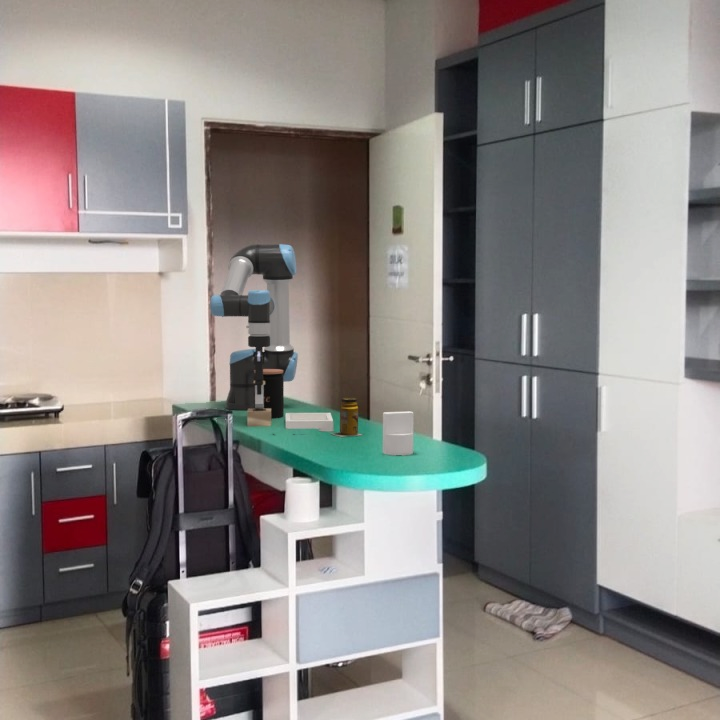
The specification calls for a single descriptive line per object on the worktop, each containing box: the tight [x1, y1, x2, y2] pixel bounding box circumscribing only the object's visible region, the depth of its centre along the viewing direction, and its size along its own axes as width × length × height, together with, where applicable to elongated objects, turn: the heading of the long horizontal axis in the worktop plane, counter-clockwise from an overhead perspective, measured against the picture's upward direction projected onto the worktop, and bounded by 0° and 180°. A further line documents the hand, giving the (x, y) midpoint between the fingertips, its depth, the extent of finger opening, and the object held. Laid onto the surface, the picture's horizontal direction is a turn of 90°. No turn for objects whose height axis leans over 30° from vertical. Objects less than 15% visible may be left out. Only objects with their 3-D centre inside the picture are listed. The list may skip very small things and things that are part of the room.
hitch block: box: [246, 408, 272, 427], centre depth 328 cm, size 8×8×6 cm
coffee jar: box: [254, 369, 285, 420], centre depth 347 cm, size 11×11×18 cm
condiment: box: [330, 397, 363, 438], centre depth 314 cm, size 7×8×12 cm
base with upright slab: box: [382, 410, 414, 456], centre depth 281 cm, size 9×9×12 cm
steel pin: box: [254, 381, 265, 411], centre depth 328 cm, size 4×4×15 cm
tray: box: [284, 412, 334, 432], centre depth 330 cm, size 20×16×4 cm
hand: (259, 402), depth 328 cm, fingers closed on steel pin, 4 cm apart
